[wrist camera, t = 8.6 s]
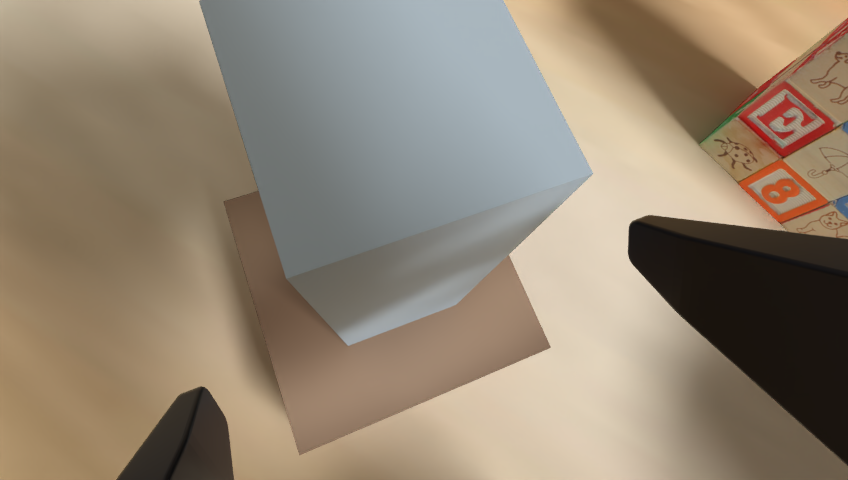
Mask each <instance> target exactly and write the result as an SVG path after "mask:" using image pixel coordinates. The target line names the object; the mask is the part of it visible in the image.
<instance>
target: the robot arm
mask: <svg viewBox="0 0 848 480" xmlns="http://www.w3.org/2000/svg"><path fill="white" fill-rule="evenodd" d="M628 255H629V259H630V261H631V263H632V264H633V265H634V266H635V268H636V269H637V270H638V271H639V272H640V273H641V274H642V275H643V276H644V277H645V278H646V280H647V281H648V282H649V283H650V284H651V285H652V286H653V287H654V288H655V289H656V290H657V292H658V293H659V294H660V295H661V296H662V297H663V298H664V299H665V300H666V301H667V302H668V303H669V305H670V306H671V307H672V308H673V309H674V310H675V311H676V312H677V313H678V314H679V315H680V316H681V317H682V318H683V319H684V320H686V321H687V322H688V323H689V324H690V325H691V326H692V327H693V328H694V329H695V330H697V331H698V332H699V333H700V334H701V335H702V336H703V337H704V338H706V339H707V340H708V341H709V342H710V343H711V344H712V345H713V346H714V347H716V348H717V349H718V350H719V351H720V352H721V353H722V354H723V355H725V356H726V357H727V358H728V359H729V360H730V361H731V362H732V363H733V364H735V365H736V366H737V367H738V368H739V369H740V370H741V371H742V372H744V373H745V374H746V375H747V376H748V377H749V378H750V379H751V380H752V381H754V382H755V383H756V384H757V385H758V386H759V387H760V388H761V389H763V390H764V391H765V392H766V393H767V394H768V395H769V396H770V397H771V398H773V399H774V400H775V401H776V402H777V403H778V404H779V405H780V406H782V407H783V408H784V409H785V410H786V411H787V412H788V413H789V414H790V415H792V416H793V417H794V418H795V419H796V420H797V421H798V422H799V423H801V424H802V425H803V426H804V427H805V428H806V429H807V430H808V431H809V432H811V433H812V434H813V435H814V436H815V437H816V438H817V439H818V440H820V441H821V442H822V443H823V444H824V445H825V446H826V447H827V448H828V449H830V450H831V451H832V452H833V453H834V454H835V455H836V456H837V457H839V458H840V459H841V460H842V461H843V462H844V463H845V464H846V465H847V466H848V239H844V238H835V237H827V236H819V235H810V234H802V233H794V232H785V231H777V230H769V229H761V228H752V227H744V226H736V225H727V224H719V223H711V222H702V221H694V220H686V219H677V218H669V217H661V216H653V215H648V216H644V217H642V218H639V219H636V220H634V221H632V222H631V224H630V226H629V239H628ZM116 480H234V476H233V467H232V458H231V449H230V440H229V431H228V425H227V421H226V418H225V416H224V414H223V413H222V411H221V409H220V408H219V406H218V405H217V403H216V402H215V400H214V398H213V397H212V395H211V394H210V392H209V391H208V390H207V389H206V388H205V387H198V388H195V389H193V390H190V391H187V392H185V393H182V394H180V395H179V396H178V397H177V398H176V400H175V401H174V402H173V404H172V405H171V406H170V408H169V409H168V411H167V412H166V413H165V415H164V416H163V417H162V419H161V420H160V421H159V423H158V424H157V425H156V427H155V428H154V429H153V431H152V432H151V433H150V435H149V436H148V438H147V439H146V440H145V442H144V443H143V444H142V446H141V447H140V448H139V450H138V451H137V452H136V454H135V455H134V456H133V458H132V459H131V460H130V462H129V463H128V465H127V466H126V467H125V469H124V470H123V471H122V473H121V474H120V475H119V477H118V478H117V479H116Z"/></svg>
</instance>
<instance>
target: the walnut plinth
mask: <svg viewBox="0 0 848 480" xmlns="http://www.w3.org/2000/svg"><path fill="white" fill-rule="evenodd" d="M224 205H225V208H226V212H227V215H228V218H229V222H230V225H231V228H232V232H233V235H234V238H235V242H236V245H237V248H238V252H239V255H240V258H241V262H242V265H243V268H244V272H245V275H246V278H247V282H248V285H249V288H250V292H251V295H252V298H253V302H254V305H255V308H256V312H257V315H258V318H259V322H260V325H261V328H262V332H263V335H264V338H265V342H266V345H267V348H268V352H269V355H270V358H271V362H272V365H273V368H274V372H275V375H276V379H277V382H278V385H279V389H280V392H281V395H282V399H283V402H284V405H285V409H286V412H287V415H288V419H289V422H290V425H291V429H292V432H293V435H294V439H295V442H296V445H297V449H298V452H299V455H301V454H303V453H306V452H308V451H310V450H313V449H315V448H317V447H320V446H322V445H324V444H327V443H329V442H331V441H334V440H336V439H338V438H341V437H343V436H345V435H348V434H350V433H352V432H355V431H357V430H359V429H362V428H364V427H366V426H369V425H371V424H373V423H376V422H378V421H380V420H383V419H385V418H387V417H390V416H392V415H394V414H397V413H399V412H401V411H404V410H406V409H408V408H411V407H413V406H415V405H418V404H420V403H422V402H425V401H427V400H429V399H432V398H434V397H436V396H439V395H441V394H444V393H446V392H448V391H451V390H453V389H455V388H458V387H460V386H462V385H465V384H467V383H469V382H472V381H474V380H476V379H479V378H481V377H483V376H486V375H488V374H490V373H493V372H495V371H497V370H500V369H502V368H504V367H507V366H509V365H511V364H514V363H516V362H518V361H521V360H523V359H525V358H528V357H530V356H532V355H535V354H537V353H539V352H542V351H544V350H546V349H549V348H551V347H550V345H549V343H548V340H547V338H546V336H545V334H544V332H543V329H542V327H541V325H540V323H539V321H538V318H537V316H536V314H535V312H534V310H533V307H532V305H531V303H530V301H529V299H528V296H527V294H526V292H525V290H524V288H523V285H522V283H521V281H520V279H519V277H518V274H517V272H516V270H515V268H514V266H513V263H512V261H511V259H510V257H509V255H508V256H507V257H505V258H504V259H503V260H502V261H501V262H500V263H499V264H498V265H497V266H496V267H495V268H494V269H493V270H492V271H491V272H490V273H489V274H488V275H487V276H486V277H485V278H484V279H482V280H481V281H480V282H479V283H478V284H477V285H476V286H475V287H474V288H473V289H472V290H471V291H470V292H469V293H468V294H467V295H466V296H465V297H464V298H463V299H462V300H461V301H459V302H458V303H457V304H456V305H454V306H452V307H449V308H447V309H444V310H441V311H439V312H436V313H433V314H431V315H428V316H426V317H423V318H420V319H418V320H415V321H412V322H410V323H407V324H405V325H402V326H399V327H397V328H394V329H391V330H389V331H386V332H384V333H381V334H378V335H376V336H373V337H370V338H368V339H365V340H363V341H360V342H357V343H355V344H352V345H349V346H348V345H347V344H346V343H345V342H344V341H343V340H342V339H341V338H340V337H339V336H338V334H337V333H336V332H335V331H334V330H333V329H332V328H331V327H330V326H329V325H328V324H327V322H326V321H325V320H324V319H323V318H322V317H321V316H320V315H319V314H318V313H317V312H316V311H315V309H314V308H313V307H312V306H311V305H310V304H309V303H308V302H307V301H306V300H305V299H304V298H303V296H302V295H301V294H300V293H299V292H298V291H297V290H296V289H295V288H294V287H293V286H292V284H291V283H290V282H289V281H288V280H287V279H286V276H285V273H284V270H283V267H282V264H281V260H280V257H279V254H278V251H277V248H276V244H275V241H274V238H273V235H272V232H271V229H270V225H269V222H268V219H267V216H266V213H265V209H264V206H263V203H262V200H261V197H260V193H259V191H257V192H253V193H250V194H247V195H244V196H240V197H237V198H234V199H231V200H227V201H224Z"/></svg>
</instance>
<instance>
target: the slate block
mask: <svg viewBox="0 0 848 480" xmlns="http://www.w3.org/2000/svg"><path fill="white" fill-rule="evenodd" d="M199 2H200V5H201V9H202V12H203V15H204V18H205V21H206V24H207V28H208V31H209V34H210V37H211V40H212V44H213V47H214V50H215V53H216V56H217V60H218V63H219V66H220V69H221V72H222V75H223V79H224V82H225V85H226V88H227V91H228V95H229V98H230V101H231V104H232V107H233V111H234V114H235V117H236V120H237V123H238V127H239V130H240V133H241V136H242V139H243V142H244V146H245V149H246V152H247V155H248V158H249V162H250V165H251V168H252V171H253V174H254V178H255V181H256V184H257V187H258V190H259V193H260V197H261V200H262V203H263V206H264V209H265V213H266V216H267V219H268V222H269V225H270V229H271V232H272V235H273V238H274V241H275V244H276V248H277V251H278V254H279V257H280V260H281V264H282V267H283V270H284V273H285V276H286V279H287V280H288V281H289V282H290V283H291V284H292V286H293V287H294V288H295V289H296V290H297V291H298V292H299V293H300V294H301V295H302V296H303V298H304V299H305V300H306V301H307V302H308V303H309V304H310V305H311V306H312V307H313V308H314V309H315V311H316V312H317V313H318V314H319V315H320V316H321V317H322V318H323V319H324V320H325V321H326V322H327V324H328V325H329V326H330V327H331V328H332V329H333V330H334V331H335V332H336V333H337V334H338V336H339V337H340V338H341V339H342V340H343V341H344V342H345V343H346V344H347V345H348V346H349V345H352V344H355V343H357V342H360V341H363V340H365V339H368V338H370V337H373V336H376V335H378V334H381V333H384V332H386V331H389V330H391V329H394V328H397V327H399V326H402V325H405V324H407V323H410V322H412V321H415V320H418V319H420V318H423V317H426V316H428V315H431V314H433V313H436V312H439V311H441V310H444V309H447V308H449V307H452V306H454V305H456V304H457V303H458V302H459V301H461V300H462V299H463V298H464V297H465V296H466V295H467V294H468V293H469V292H470V291H471V290H472V289H473V288H474V287H475V286H476V285H477V284H478V283H479V282H480V281H481V280H482V279H484V278H485V277H486V276H487V275H488V274H489V273H490V272H491V271H492V270H493V269H494V268H495V267H496V266H497V265H498V264H499V263H500V262H501V261H502V260H503V259H504V258H505V257H507V256H508V255H509V254H510V253H511V252H512V251H513V250H514V249H515V248H516V247H517V246H518V245H519V244H520V243H521V242H522V241H523V240H524V239H525V238H526V237H527V236H529V235H530V234H531V233H532V232H533V231H534V230H535V229H536V228H537V227H538V226H539V225H540V224H541V223H542V222H543V221H544V220H545V219H546V218H547V217H548V216H549V215H550V214H552V213H553V212H554V211H555V210H556V209H557V208H558V207H559V206H560V205H561V204H562V203H563V202H564V201H565V200H566V199H567V198H568V197H569V196H570V195H571V194H572V193H573V192H575V191H576V190H577V189H578V188H579V187H580V186H581V185H582V184H583V183H584V182H585V181H586V180H587V179H588V178H589V177H590V176H591V175H592V174H593V172H592V170H591V168H590V166H589V165H588V163H587V161H586V159H585V157H584V155H583V153H582V151H581V149H580V147H579V145H578V143H577V141H576V139H575V138H574V136H573V134H572V132H571V130H570V128H569V126H568V124H567V122H566V120H565V118H564V116H563V114H562V113H561V111H560V109H559V107H558V105H557V103H556V101H555V99H554V97H553V95H552V93H551V91H550V89H549V87H548V86H547V84H546V82H545V80H544V78H543V76H542V74H541V72H540V70H539V68H538V66H537V64H536V62H535V61H534V59H533V57H532V55H531V53H530V51H529V49H528V47H527V45H526V43H525V41H524V39H523V37H522V35H521V34H520V32H519V30H518V28H517V26H516V24H515V22H514V20H513V18H512V16H511V14H510V12H509V10H508V8H507V7H506V5H505V3H504V1H503V0H200V1H199Z"/></svg>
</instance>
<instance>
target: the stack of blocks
mask: <svg viewBox="0 0 848 480" xmlns="http://www.w3.org/2000/svg"><path fill="white" fill-rule="evenodd" d="M699 145H700V147H701V148H702V149H703V150H704V151H706V152H707V153H708V154H709V155H710V156H711V157H712V158H713V159H714V160H715V161H716V162H717V163H718V164H719V165H720V166H721V167H722V168H724V169H725V170H726V171H727V172H728V173H729V174H730V175H731V176H732V177H733V178H734V179H735V180H736V181H737V182H738V183H739V185H740V186H741V187H742V188H743V189H744V190H745V191H746V192H747V193H748V194H749V195H750V196H751V197H752V198H754V199H755V200H756V201H757V202H758V203H759V204H760V205H761V206H762V207H763V208H764V209H765V210H766V211H767V212H768V213H769V214H771V215H772V216H773V217H774V218H775V219H776V220H777V221H778V222H780V223H781V224H782V225H783V227H784V228H785V229H786V230H787V231H788V232H794V233H802V234H810V235H819V236H827V237H835V238H844V239H848V18H847V19H846V20H844V21H843V22H842V23H841V24H839V25H838V26H837V27H836V28H835V29H833V30H832V31H831V32H829V33H828V34H827V35H826V36H824V37H823V38H822V39H821V40H819V41H818V42H817V43H816V44H814V45H813V46H812V47H811V48H810V49H808V50H807V51H806V52H805V53H803V54H802V55H801V56H800V57H798V58H797V59H796V60H794V61H793V62H791V63H790V64H789V65H788V66H786V67H785V68H784V69H782V70H781V71H780V72H779V73H777V74H776V75H775V76H773V77H772V78H771V79H770V80H768V81H767V82H766V83H764V84H763V85H762V86H760V87H759V88H758V89H757V90H756V91H755V92H754V93H753V94H752V95H751V96H749V97H748V98H747V99H746V100H745V101H744V102H743V103H742V104H741V105H740V106H739V107H738V108H737V109H736V110H735V111H734V112H732V113H731V114H730V116H729V117H728V118H727V119H726V120H725V121H724V122H723V123H722V124H721V125H720V126H719V127H717V128H716V129H715V130H714V131H713V132H712V133H711V134H710V135H709V136H708V137H707V138H706V139H705V140H703V141H702V142H701V143H700V144H699Z"/></svg>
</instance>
